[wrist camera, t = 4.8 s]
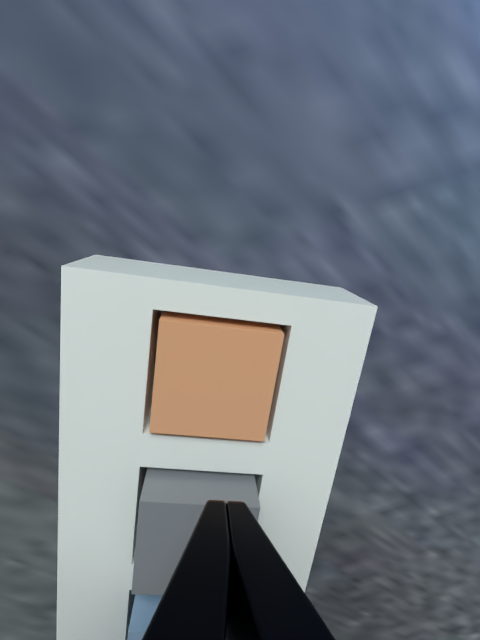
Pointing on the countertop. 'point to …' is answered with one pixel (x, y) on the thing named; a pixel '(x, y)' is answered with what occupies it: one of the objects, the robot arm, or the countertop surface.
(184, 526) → the key charcoal
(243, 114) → the countertop surface
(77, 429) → the keypad
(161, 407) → the tan square block
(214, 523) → the robot arm
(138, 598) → the key slate
